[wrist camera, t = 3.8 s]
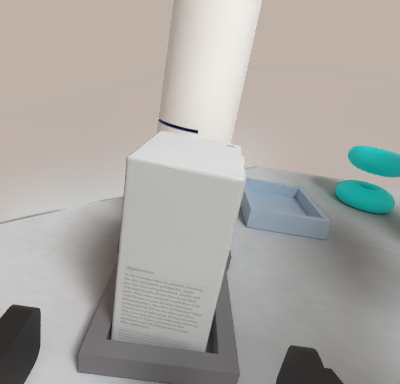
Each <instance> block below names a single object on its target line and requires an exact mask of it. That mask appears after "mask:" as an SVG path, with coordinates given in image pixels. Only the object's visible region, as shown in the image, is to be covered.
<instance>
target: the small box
mask: <svg viewBox="0 0 400 384" xmlns="http://www.w3.org/2000/svg"><path fill="white" fill-rule="evenodd" d="M245 184H246V172H245V159H244V156H243V152H242V147H240V146H237V145H233V144H229V143H224V142H220V141H215V140H210V139H205V138H200V137H195V136H189V135H183V134H178V133H172V132H166V131H159V132H158V133H157V134H156V135H154V136H153V137H152V138H151V139H150V140H148V141H147V142H146V143H144V144H143V145H142V146H141V147H139V148H138V149H137V150H136V151H134V152H133V153H132V154H130V155H129V156H128V157H127V165H126V176H125V188H124V198H123V209H122V221H121V232H120V243H119V255H118V266H117V277H116V288H115V300H114V310H113V320H112V332H111V340H115V341H123V342H131V343H138V344H146V345H153V346H161V347H168V348H176V349H184V350H191V351H199V352H205V351H206V346H207V342H208V337H209V333H210V329H211V325H212V321H213V316H214V312H215V308H216V304H217V300H218V296H219V292H220V288H221V284H222V280H223V276H224V272H225V267H226V263H227V259H228V255H229V251H230V247H231V242H232V238H233V234H234V230H235V226H236V222H237V218H238V213H239V209H240V205H241V201H242V197H243V193H244V188H245Z"/></svg>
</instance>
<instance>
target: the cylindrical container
mask: <svg viewBox="0 0 400 384" xmlns="http://www.w3.org/2000/svg"><path fill="white" fill-rule="evenodd" d="M261 3H262V0H174V5H173V13H172V21H171V28H170V36H169V44H168V53H167V59H166V67H165V75H164V82H163V90H162V98H161V106H160V113H159V118H160V119H159V122H158V130H157V133H158V132H159V131H166V132H172V133H178V134H183V135H189V136H195V137H200V138H205V139H210V140H215V141H220V142H224V143H229V144H231V140H232V136H233V131H234V127H235V122H236V117H237V113H238V108H239V104H240V99H241V95H242V90H243V85H244V81H245V76H246V71H247V67H248V62H249V58H250V53H251V49H252V44H253V39H254V35H255V31H256V26H257V21H258V17H259V12H260V8H261Z"/></svg>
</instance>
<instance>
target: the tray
mask: <svg viewBox="0 0 400 384" xmlns="http://www.w3.org/2000/svg"><path fill="white" fill-rule="evenodd" d="M240 207H241V210H242V214H243V217H244V220H245V224H246V227H249V228H255V229H261V230H267V231H273V232H280V233H286V234H292V235H298V236H305V237H311V238H317V239H323V240H326V237H327V235H328V232H329V229H330V227H331V224H332V222H331V221H330V219H329V218H328V217H327V216H326V215H325V214H324V212H323V211H322V210H321V209H320V208H319V207H318V206H317V204H316V203H315V202H314V201H313V200H312V199H311V197H310V196H309V195H308V194H307V193H306V192H305V191H304V189H303V188H302V187H296V186H290V185H285V184H279V183H273V182H267V181H261V180H255V179H250V178H246V184H245V188H244V193H243V197H242V201H241V205H240Z"/></svg>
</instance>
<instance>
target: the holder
mask: <svg viewBox="0 0 400 384" xmlns="http://www.w3.org/2000/svg"><path fill="white" fill-rule="evenodd" d="M119 243H120V238H119ZM118 253H119V245H118ZM230 260H231V252H230V251H229V255H228V259H227V263H226V267H225V272H224V276H223V280H222V284H221V288H220V292H219V296H218V300H217V304H216V308H215V312H214V316H213V321H212V341H213V353H206V352H199V351H191V350H184V349H176V348H168V347H161V346H153V345H146V344H138V343H131V342H123V341H115V340H110V337H111V332H112V320H113V310H114V300H115V288H116V277H117V266H118V262H117V264H116V266H115V269H114V271H113V273H112V276H111V278H110V280H109V283H108V285H107V287H106V290H105V292H104V294H103V297H102V299H101V302H100V304H99V306H98V309H97V311H96V313H95V316H94V318H93V320H92V323H91V325H90V327H89V330H88V332H87V334H86V337H85V339H84V341H83V344H82V346H81V348H80V351H79V353H78V371H77V372H81V373H89V374H97V375H105V376H113V377H121V378H129V379H137V380H145V381H153V382H161V383H169V384H237V381H238V378H239V375H240V372H239V365H238V357H237V349H236V342H235V334H234V327H233V319H232V312H231V304H230V296H229V289H228V281H227V274H226V273H227V270H228V267H229V264H230Z"/></svg>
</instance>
